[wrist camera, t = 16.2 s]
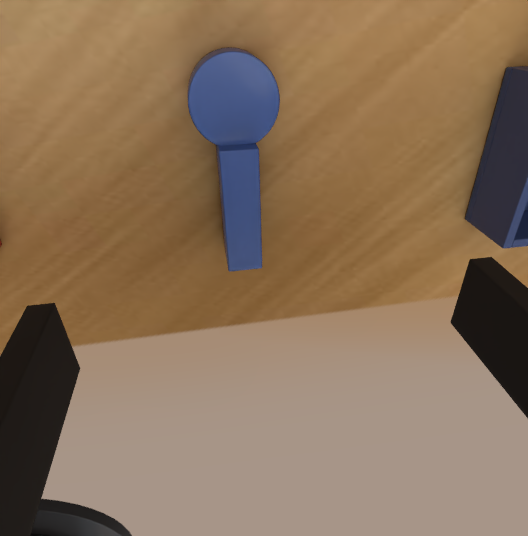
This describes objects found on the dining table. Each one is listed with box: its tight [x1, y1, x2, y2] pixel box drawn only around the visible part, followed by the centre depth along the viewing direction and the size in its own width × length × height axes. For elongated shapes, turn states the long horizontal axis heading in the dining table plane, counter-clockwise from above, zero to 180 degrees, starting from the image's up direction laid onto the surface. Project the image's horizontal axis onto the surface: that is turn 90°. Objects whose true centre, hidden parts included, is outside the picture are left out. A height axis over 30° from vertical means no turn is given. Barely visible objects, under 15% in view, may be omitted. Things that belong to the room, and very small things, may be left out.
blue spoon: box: [188, 47, 280, 271], centre depth 20 cm, size 10×4×3 cm, turn 1°
